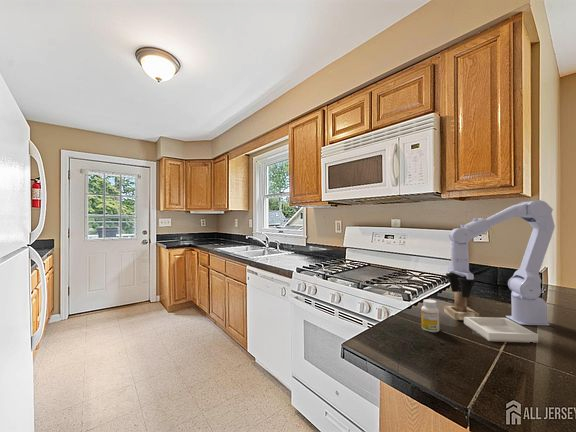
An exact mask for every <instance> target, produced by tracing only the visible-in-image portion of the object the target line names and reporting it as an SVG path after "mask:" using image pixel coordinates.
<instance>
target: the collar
mask: <svg viewBox="0 0 576 432" xmlns="http://www.w3.org/2000/svg"><path fill="white" fill-rule="evenodd" d="M443 313H445V314H446V315H448V316H449V317H450V318H452V319H453V320H455V321H464V317H480V313H479V312H477V311H475V310H474V309H471V308H470V307H468V306H467V312H457V311H455V305H443Z"/></svg>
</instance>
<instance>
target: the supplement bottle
mask: <svg viewBox="0 0 576 432" xmlns="http://www.w3.org/2000/svg"><path fill="white" fill-rule="evenodd" d="M420 310H421V313H420V314H421V318H420V320H421V329H422V330H423V331H425V332H429V333H438V332H439V331H440V310H439V308H438V304H437V300H434V299H430V298H429V299H428V298H427V299H423V305H422V306H421V309H420Z"/></svg>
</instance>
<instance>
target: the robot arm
mask: <svg viewBox="0 0 576 432" xmlns="http://www.w3.org/2000/svg"><path fill="white" fill-rule="evenodd" d="M553 211H554V209H553V207H551V206H550V205H549V203H547V202H546V201H545V200H540V199H537V200H532V201H521V202H519V203H518V204H512V205H510V206H508V207H507V208H505V209H503V210H501V211H498V212H497V213H494V214H493V215H490V216H488V217H487V218H482V217H478V218H477V217H475V218H472V221H470V222H468V223H466V224H460V227H459V228H453V229H452V230H451V231H450V233H449V234H448V238H449V240H450V241H451V246H450V247H451V249H450V252H451V253H450V256H451V259H450V260H451V262H450V263H451V267H450V266H449V267H447V268H448V270H447V271H448V272H446V273H445V276H446V278H447V279H448V282H449V285H450V289H451V292H453V293H454V292H456V291H459V292H462V297H467V298H470V295H471V292H472V289H473V287H474V286H475V284H476V283H477V279H475V277H474V276H475V275H474V274H473V273H472V272H471V271H470V263H469V262H470V261H469V260H470V257H469V255H470V254H469V243H470V241H471V239H474V238H477V237H479V236H481V235H484V234H486V233H488V232H490V230H491V227H492V226H496V225H498V224H500V223H502V222H505V221H508V220H510V219H513V218H521V219H522V220H524V221H525V222H527V223H528V224H529V225H530V227H531V228H532V231H531V234H530V237H529V240H528V242H527V246H526V248H525V251H524V253H523V258H522V260H521V264H520V266H519V268H518V269H517V270H515V272H514V273H513V275H512V276H511V277H510V278H509V279H508V280H507V286H508V288H509V290H510V291H511V293H510V295H511V296H510V297H511V298H510V299H511V300H510V301H511V304H510V305H511V315H505V318H507V319H509V320H511V321H513V322H515V323H517V324H519V325H521V326H550V323H549V322H548V305H547V302H546V301H545V300H544V299H543V298H542V297H540V296H541V294H542V288H541V287H542V286H541V284H542V279H541V276H540V271H541V269H542V265H543V262H544V260H545V256H546V253H547V252H548V251H547V250H548V248H549V245H550V243H551V239H552V236H553V233H554V231H555V228H556V227H555V225H556V224H555V222H554V217H553V214H552V213H553Z"/></svg>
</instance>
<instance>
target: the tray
mask: <svg viewBox="0 0 576 432" xmlns="http://www.w3.org/2000/svg"><path fill="white" fill-rule="evenodd" d="M463 324H464V325H465V326H467V327H468V328H469V329H471V330H472V331H474V332H475V333H476V334H478V335H480V336H481V338H482V337H483V338H484V339H486V340H487V341H488V342H500V343H501V342H502V343H503V342H504V343H505V342H507V343H530V342H533V343H536V344H539V334H538V333H536V332H534V331H532V330H531V329H528V328H526V327H524V325H521V324H519V323H517V322H515V321H513V320H511V319H509V318H507V317H495V316H494V317H489V316H488V317H487V316H485V317H484V316H479V317H464V320H463Z"/></svg>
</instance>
